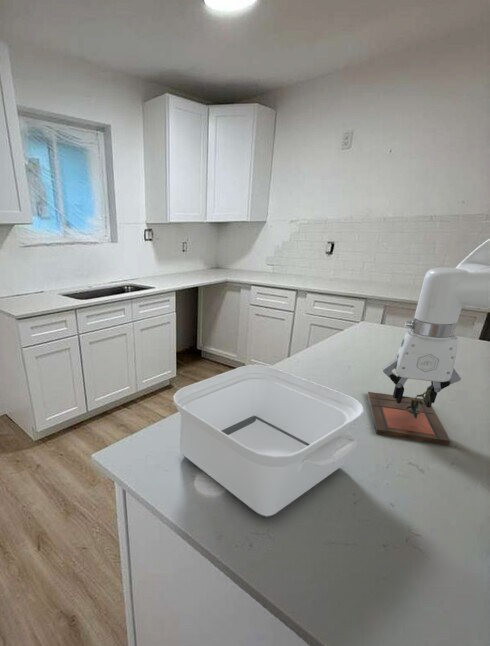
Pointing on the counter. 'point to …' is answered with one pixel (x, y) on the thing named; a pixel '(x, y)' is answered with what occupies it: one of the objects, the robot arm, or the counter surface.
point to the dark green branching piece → (416, 402)
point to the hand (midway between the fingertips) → (412, 402)
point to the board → (405, 419)
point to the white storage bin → (265, 433)
